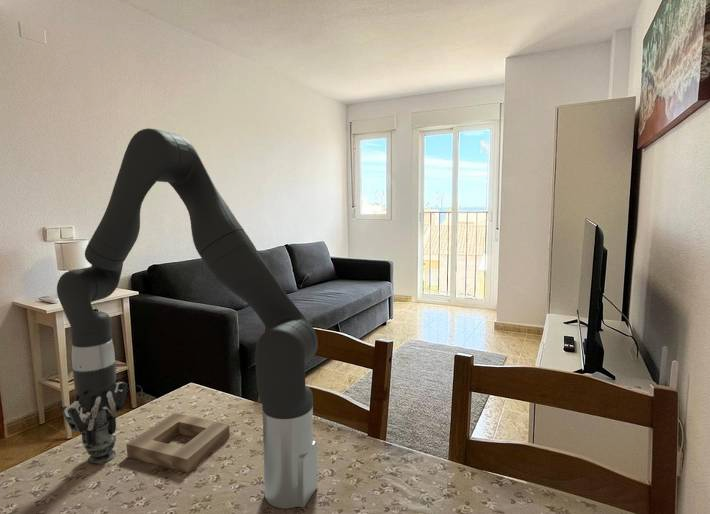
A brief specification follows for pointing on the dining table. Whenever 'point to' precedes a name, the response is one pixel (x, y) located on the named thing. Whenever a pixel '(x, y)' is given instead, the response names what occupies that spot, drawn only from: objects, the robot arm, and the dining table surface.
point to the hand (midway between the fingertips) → (100, 438)
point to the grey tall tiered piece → (101, 441)
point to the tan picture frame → (179, 458)
